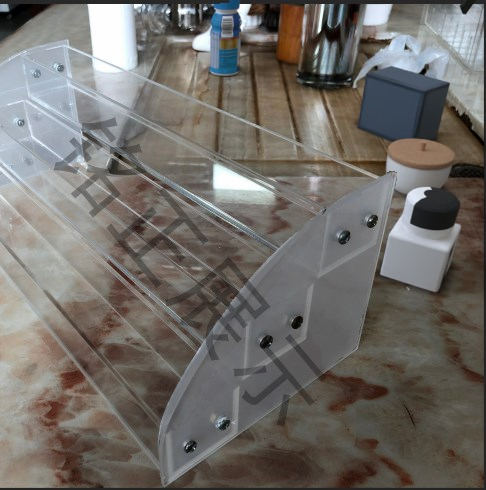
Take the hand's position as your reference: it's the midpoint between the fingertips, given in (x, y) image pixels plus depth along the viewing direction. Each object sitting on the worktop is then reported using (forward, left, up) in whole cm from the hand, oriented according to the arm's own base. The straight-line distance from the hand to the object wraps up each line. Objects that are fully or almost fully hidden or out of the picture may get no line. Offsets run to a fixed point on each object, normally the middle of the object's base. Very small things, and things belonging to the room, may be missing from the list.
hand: (479, 13), depth 124 cm
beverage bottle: (+56, -20, -22) cm, 64 cm away
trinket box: (+13, +41, -22) cm, 48 cm away
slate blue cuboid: (+14, +15, -22) cm, 30 cm away
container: (+15, +67, -22) cm, 72 cm away
